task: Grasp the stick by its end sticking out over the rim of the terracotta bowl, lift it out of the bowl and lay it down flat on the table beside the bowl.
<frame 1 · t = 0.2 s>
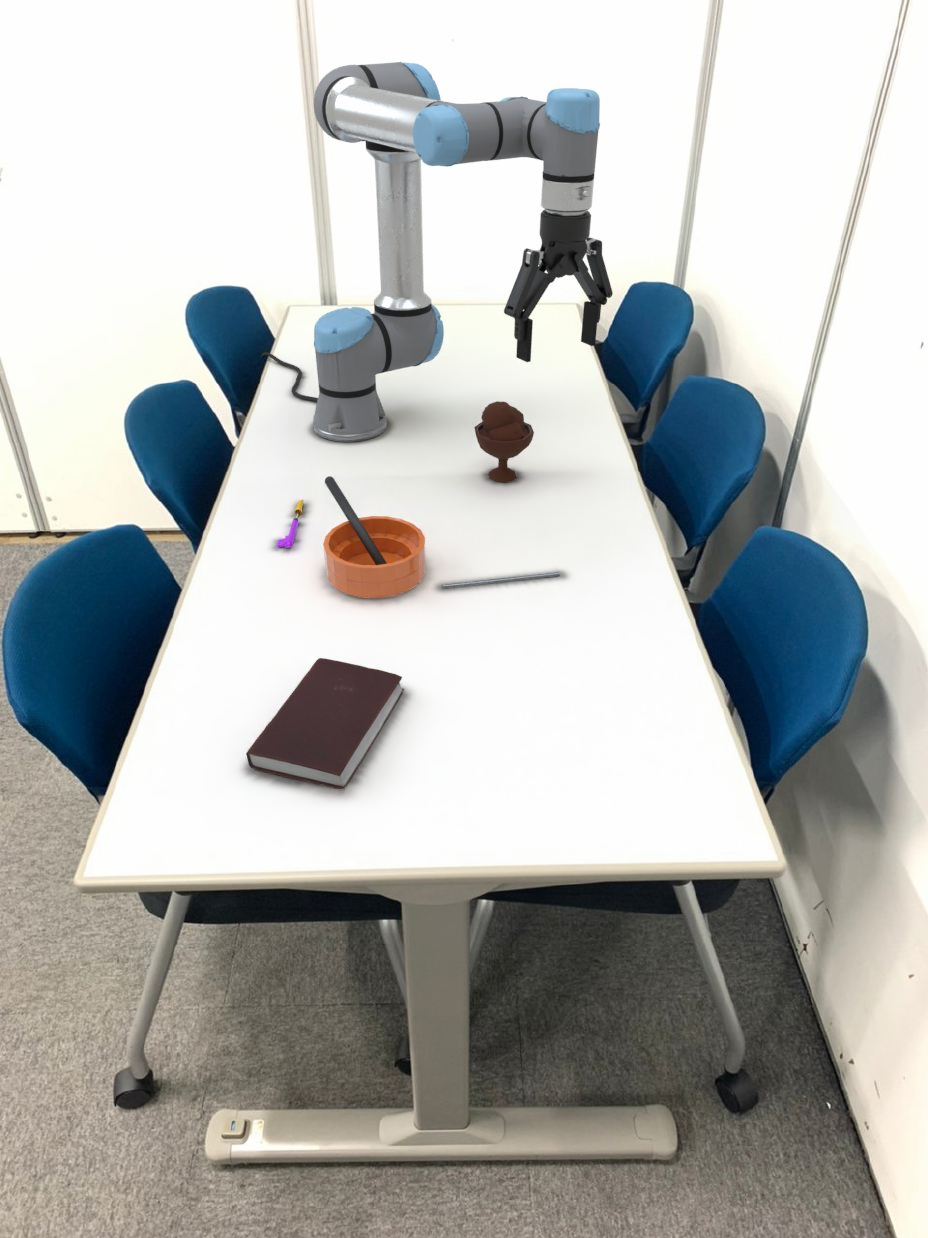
hand: (556, 351, 145), 28 cm above the table, tool pointing down, fingers open, 13 cm apart
stick: (359, 528, 142), point 6 cm above the table, touching bowl
bowl: (376, 573, 142), on the table
book: (330, 729, 113), on the table
purple gold bent tool: (291, 526, 154), on the table
ice cream bowl: (502, 477, 170), on the table
rod: (500, 583, 141), on the table
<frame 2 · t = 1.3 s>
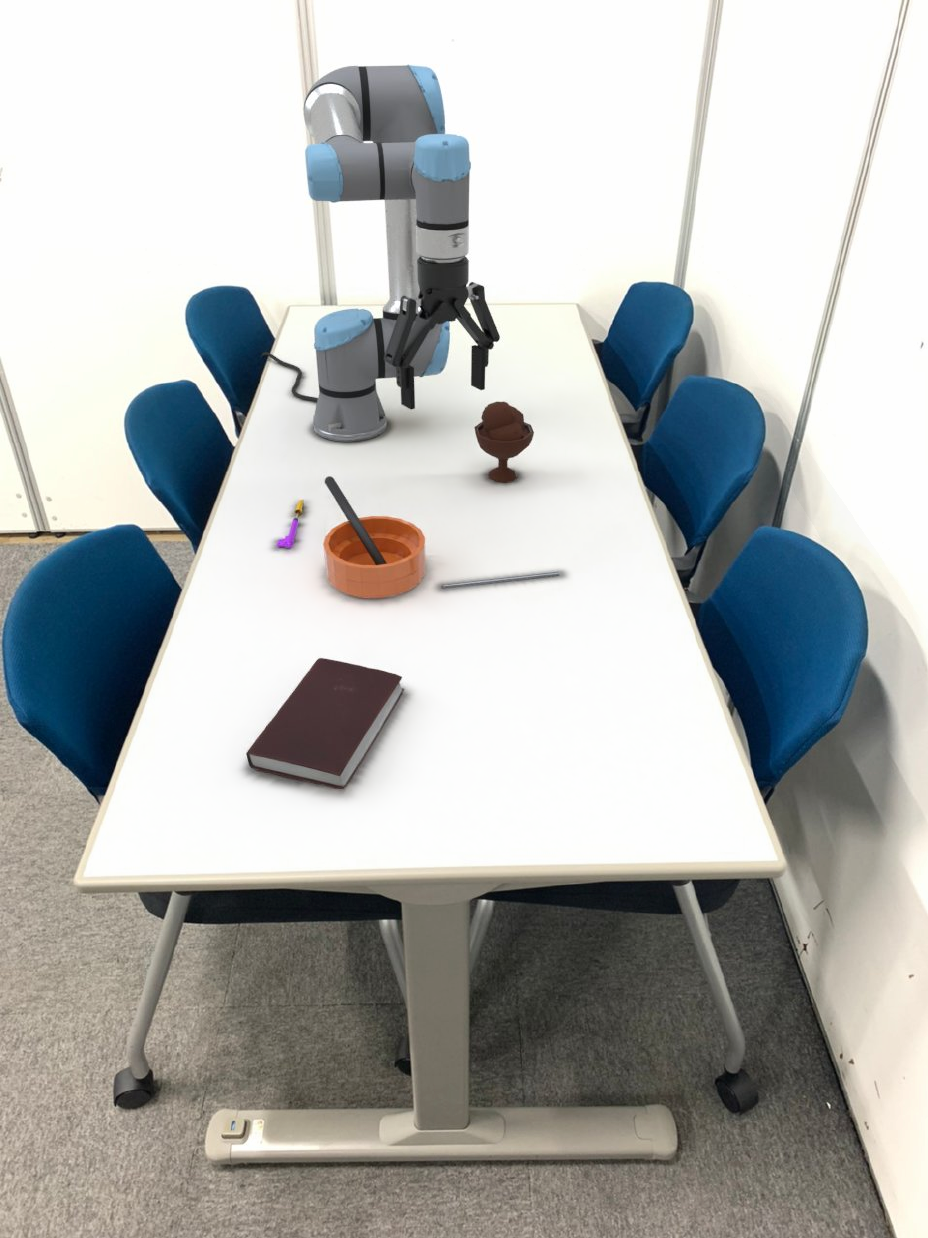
hand: (443, 396, 142), 23 cm above the table, tool pointing down, fingers open, 13 cm apart
nothing on the table moved.
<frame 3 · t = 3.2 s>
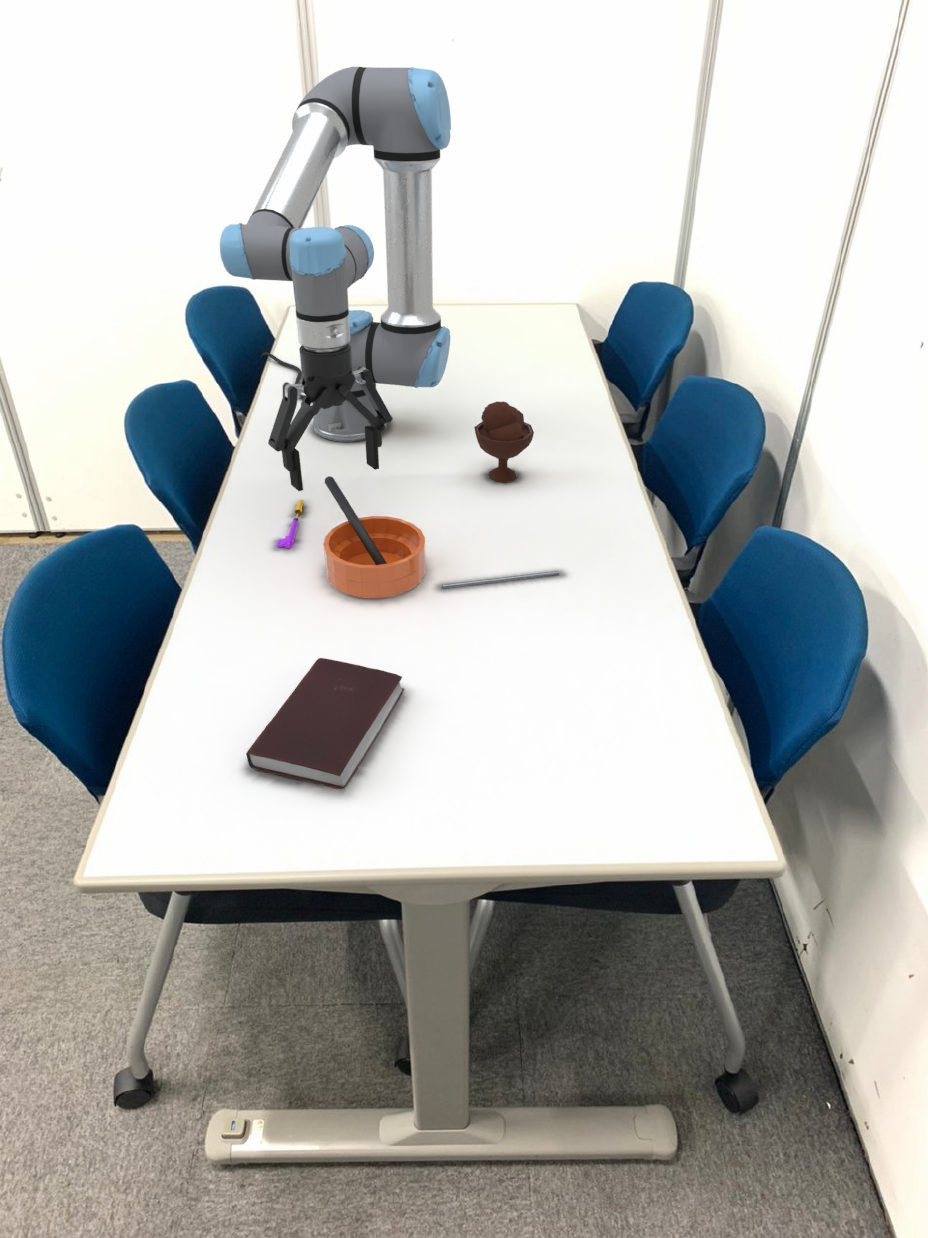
hand: (335, 476, 142), 12 cm above the table, tool pointing down, fingers open, 13 cm apart
nothing on the table moved.
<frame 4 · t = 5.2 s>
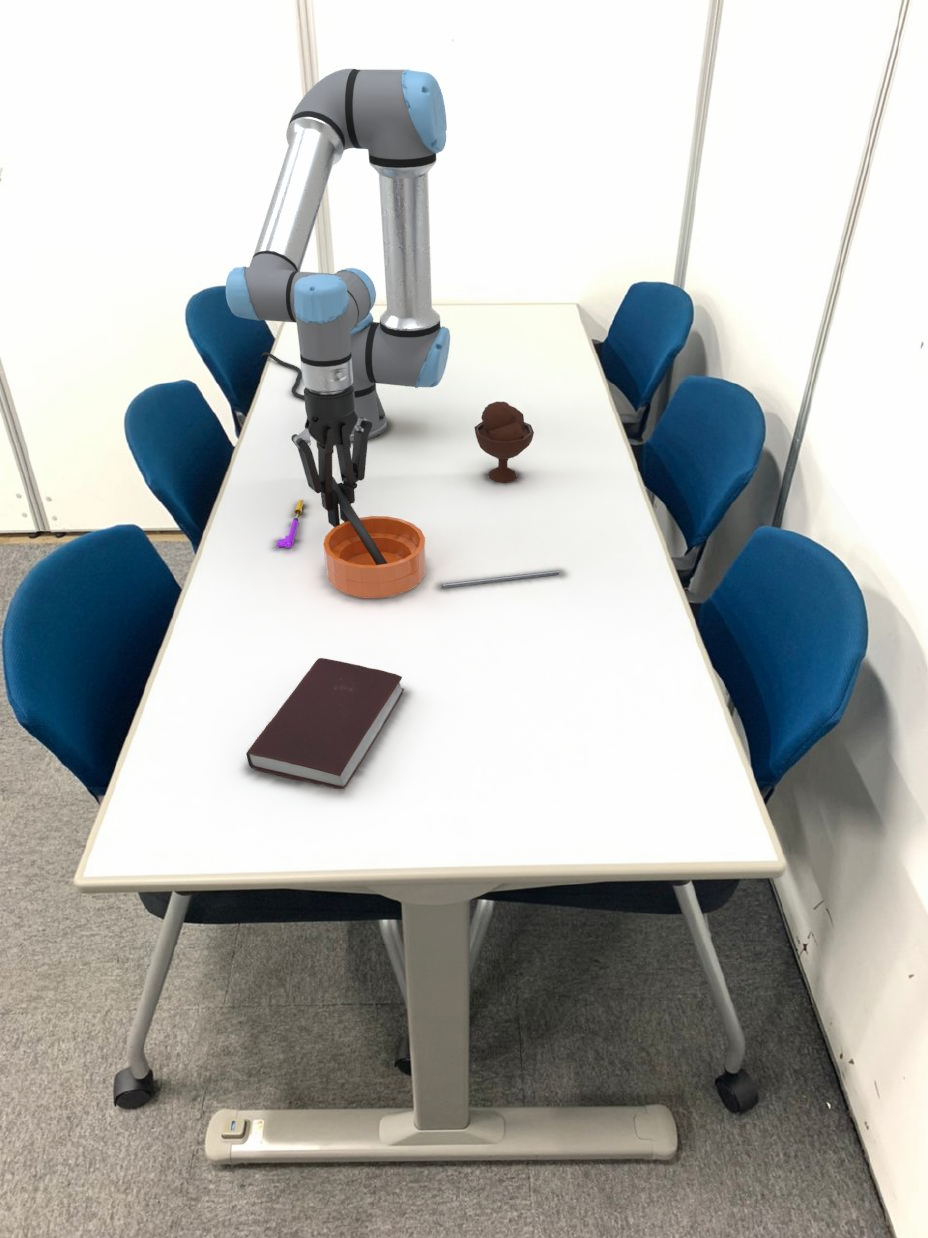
hand: (340, 522, 148), 4 cm above the table, tool pointing down, fingers closed on stick, 1 cm apart
stick: (359, 527, 142), point 6 cm above the table, touching gripper
everything else where it was.
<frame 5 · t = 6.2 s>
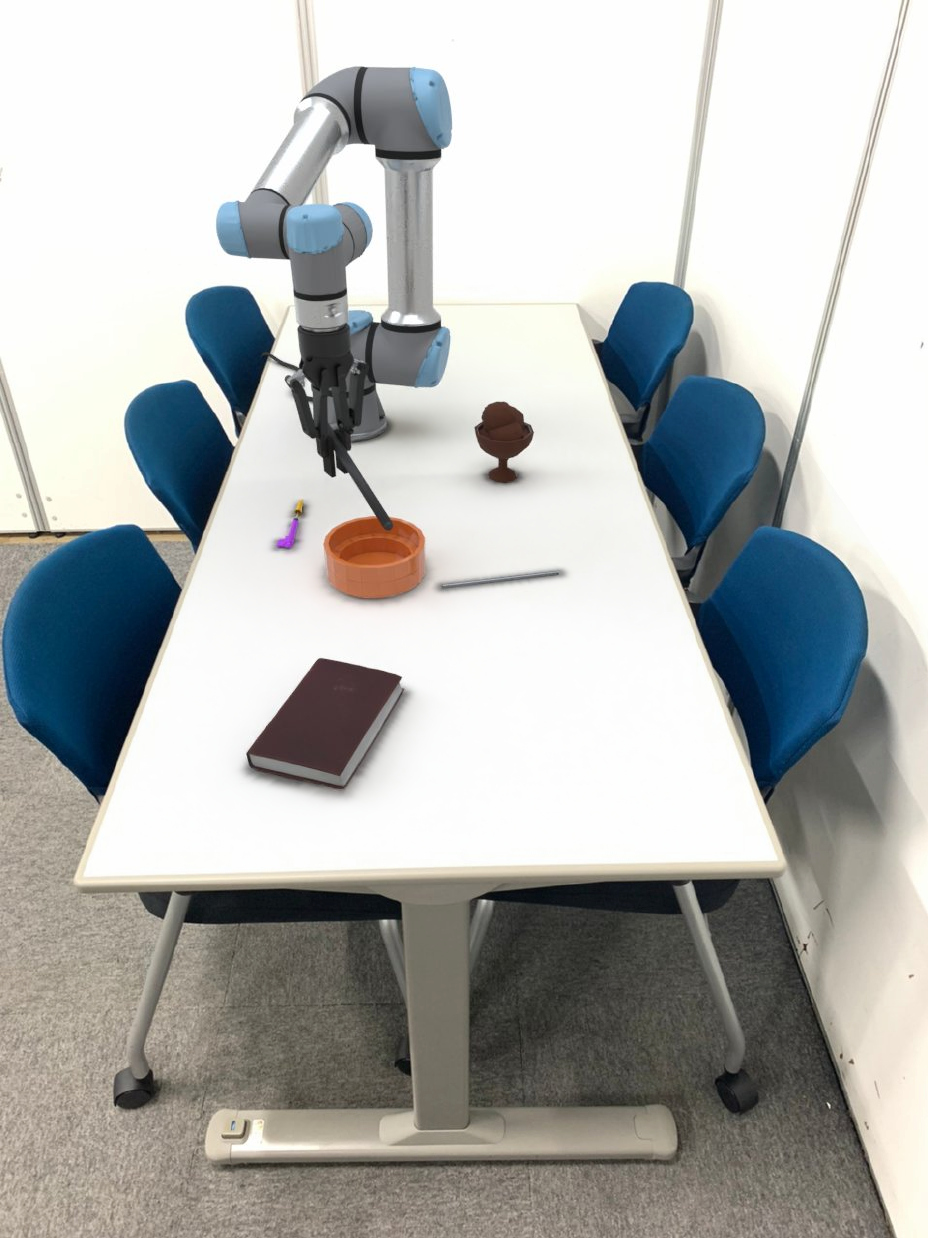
hand: (336, 471, 142), 13 cm above the table, tool pointing down, fingers closed on stick, 1 cm apart
stick: (355, 474, 136), point 15 cm above the table, touching gripper
everything else where it was.
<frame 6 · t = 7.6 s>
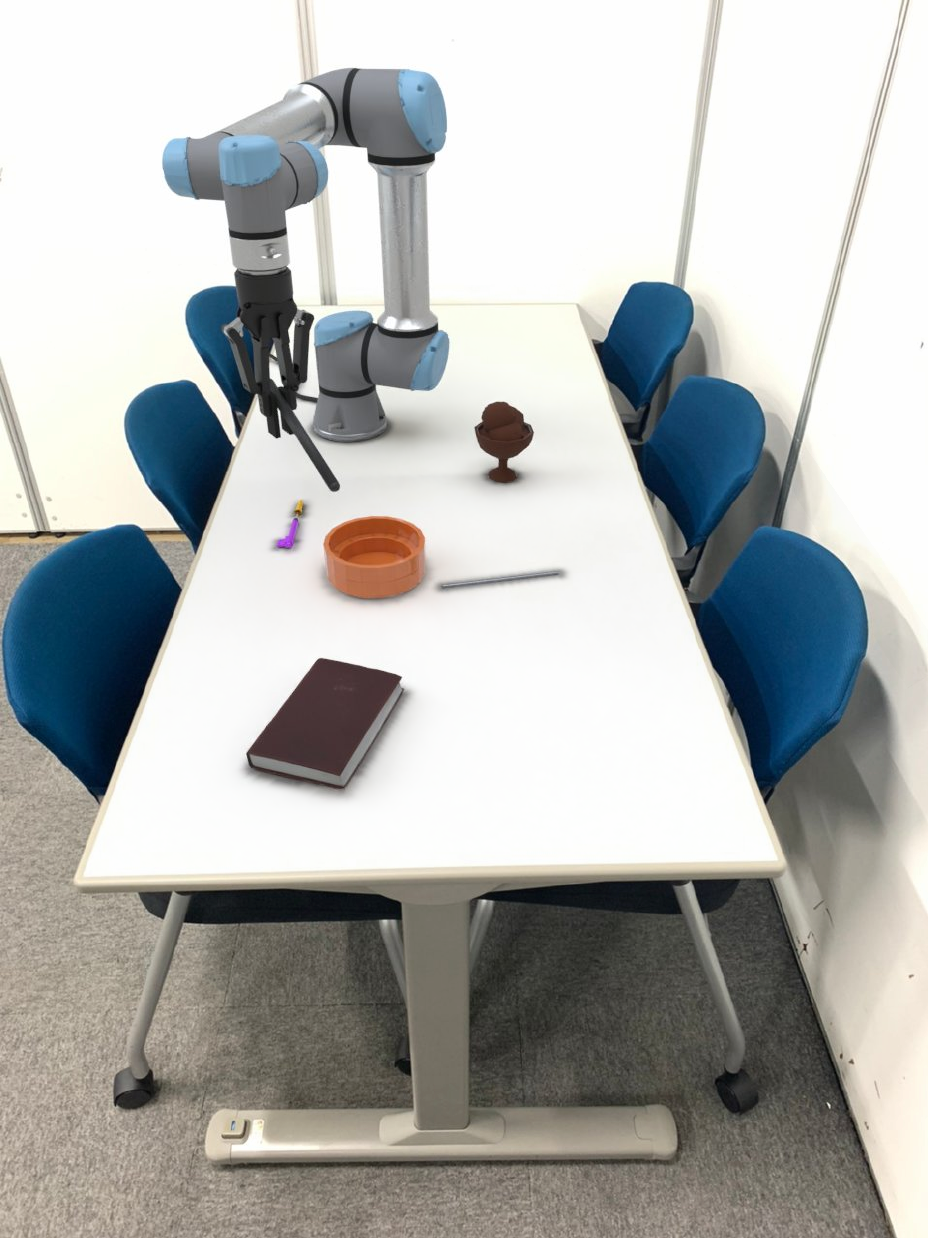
hand: (281, 432, 133), 22 cm above the table, tool pointing down, fingers closed on stick, 1 cm apart
stick: (300, 433, 127), point 24 cm above the table, touching gripper
everything else where it was.
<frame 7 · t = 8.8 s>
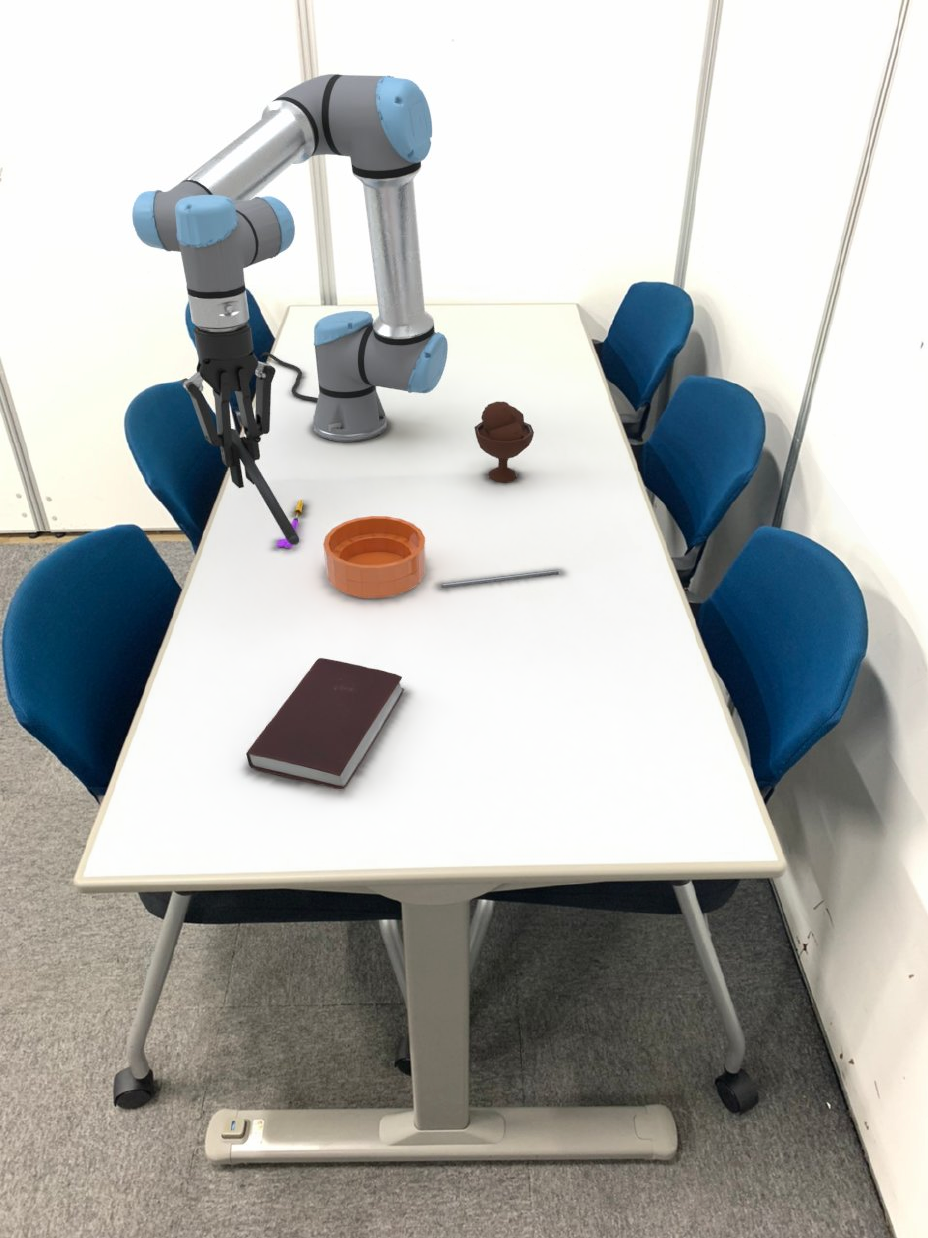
hand: (244, 482, 133), 16 cm above the table, tool pointing down, fingers closed on stick, 1 cm apart
stick: (261, 485, 128), point 18 cm above the table, touching gripper
everything else where it was.
when the fingers open (3 cm above the table, at t = 11.3 s): stick drops 4 cm and tips over, point 1 cm above the table.
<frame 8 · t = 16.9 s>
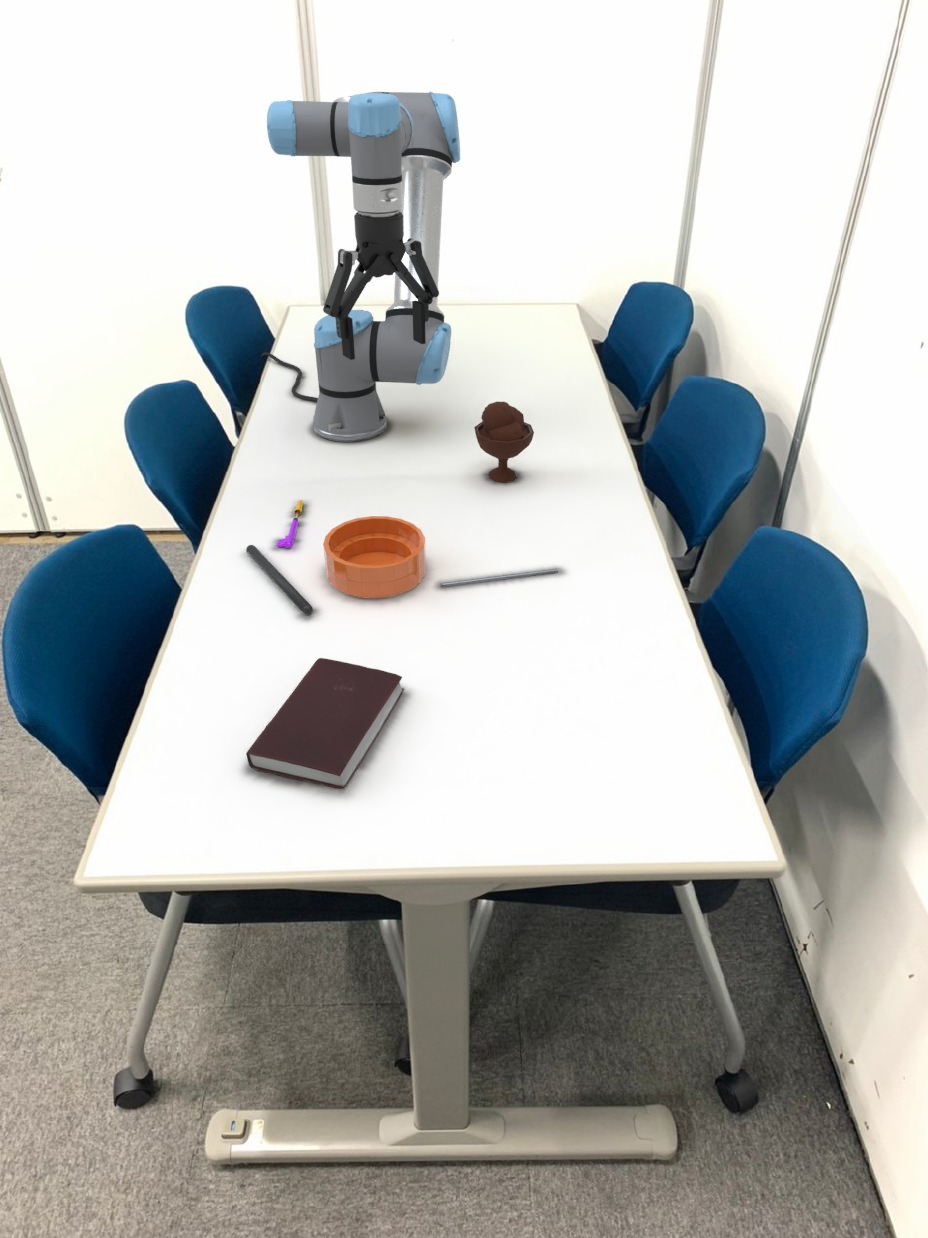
hand: (384, 349, 148), 27 cm above the table, tool pointing down, fingers open, 13 cm apart
stick: (278, 578, 139), point 1 cm above the table, tilted 74°
everything else where it was.
at the end: stick inside the target area (3.0 cm from its centre), point 0.8 cm above the table; stick touching table; the gripper is holding nothing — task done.
